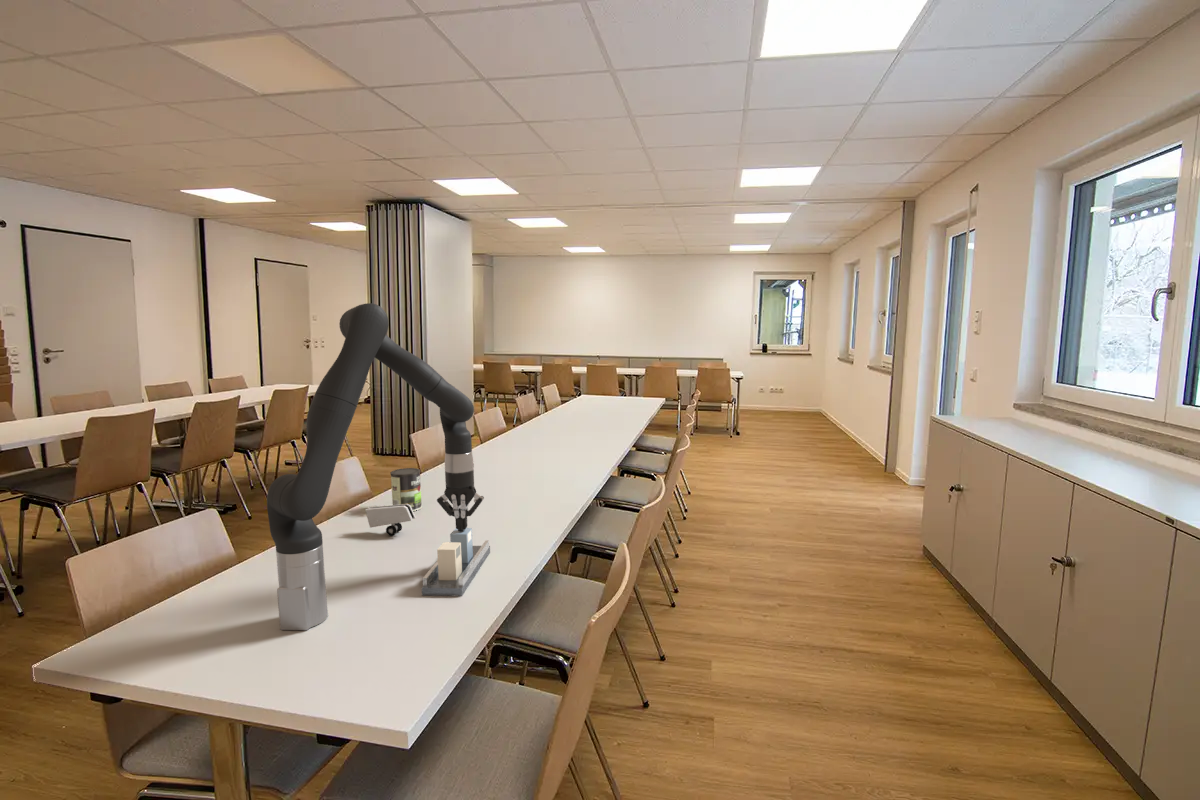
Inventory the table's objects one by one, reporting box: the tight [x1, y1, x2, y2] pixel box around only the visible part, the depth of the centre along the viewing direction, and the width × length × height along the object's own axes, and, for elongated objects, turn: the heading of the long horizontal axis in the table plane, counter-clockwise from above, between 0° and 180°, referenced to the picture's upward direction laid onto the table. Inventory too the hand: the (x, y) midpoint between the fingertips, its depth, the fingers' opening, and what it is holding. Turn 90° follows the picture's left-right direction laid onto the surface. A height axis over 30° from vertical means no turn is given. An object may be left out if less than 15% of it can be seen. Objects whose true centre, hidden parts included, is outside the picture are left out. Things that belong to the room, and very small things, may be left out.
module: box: [449, 527, 474, 563], centre depth 159 cm, size 5×5×8 cm
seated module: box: [436, 541, 462, 580], centre depth 148 cm, size 5×5×8 cm
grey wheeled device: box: [364, 504, 417, 537], centre depth 185 cm, size 4×10×15 cm
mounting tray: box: [421, 539, 491, 597], centre depth 155 cm, size 28×10×4 cm, turn 177°
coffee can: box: [390, 467, 423, 512], centre depth 211 cm, size 10×10×14 cm
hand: (461, 530), depth 158 cm, fingers closed
